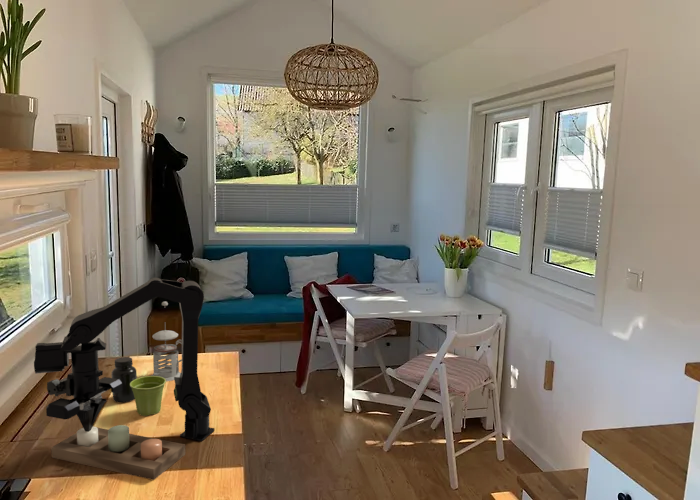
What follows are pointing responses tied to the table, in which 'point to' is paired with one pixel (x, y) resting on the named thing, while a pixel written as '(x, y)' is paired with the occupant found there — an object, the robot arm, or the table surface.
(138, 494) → the table surface
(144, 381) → the plant pot
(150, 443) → the button rust
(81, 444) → the button cream
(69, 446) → the wooden compartment tray
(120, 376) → the supplement bottle
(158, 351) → the french press
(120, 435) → the button sage
